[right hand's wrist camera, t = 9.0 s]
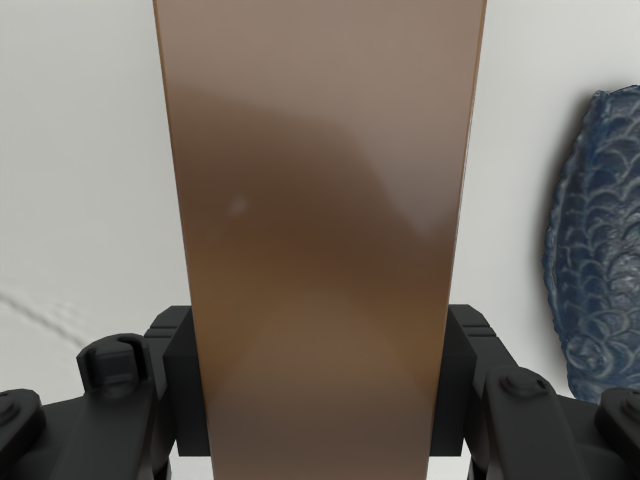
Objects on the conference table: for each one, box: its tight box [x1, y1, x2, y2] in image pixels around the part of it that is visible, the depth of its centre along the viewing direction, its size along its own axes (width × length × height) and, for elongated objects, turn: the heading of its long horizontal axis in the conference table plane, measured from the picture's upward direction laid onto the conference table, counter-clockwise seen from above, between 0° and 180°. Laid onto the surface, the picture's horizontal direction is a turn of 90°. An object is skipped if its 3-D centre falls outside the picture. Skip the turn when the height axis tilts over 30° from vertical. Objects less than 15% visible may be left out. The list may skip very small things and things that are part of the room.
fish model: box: [542, 85, 640, 404], centre depth 24 cm, size 7×21×5 cm, turn 8°
